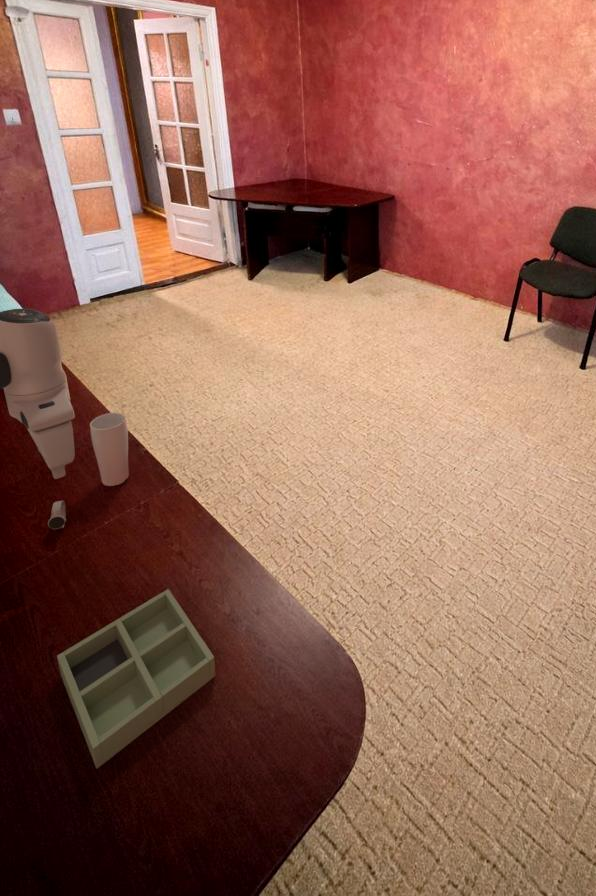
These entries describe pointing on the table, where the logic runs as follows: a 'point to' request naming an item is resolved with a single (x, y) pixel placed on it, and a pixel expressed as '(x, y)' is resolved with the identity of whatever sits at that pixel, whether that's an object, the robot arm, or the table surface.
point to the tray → (134, 673)
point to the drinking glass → (111, 447)
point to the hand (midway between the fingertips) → (51, 463)
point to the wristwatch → (58, 515)
